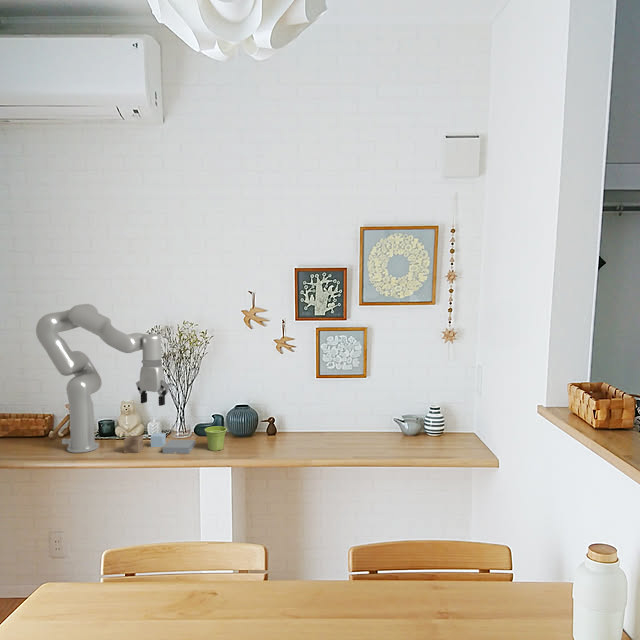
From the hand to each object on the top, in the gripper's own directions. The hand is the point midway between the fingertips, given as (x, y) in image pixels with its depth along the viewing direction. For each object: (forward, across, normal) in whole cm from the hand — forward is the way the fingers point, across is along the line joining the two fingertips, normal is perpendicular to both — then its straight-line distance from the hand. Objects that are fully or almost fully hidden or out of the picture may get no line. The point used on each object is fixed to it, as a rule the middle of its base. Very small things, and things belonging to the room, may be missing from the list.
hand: (152, 403), depth 251 cm
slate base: (+20, +9, +6) cm, 23 cm away
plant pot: (+20, +22, +14) cm, 33 cm away
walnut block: (+20, -7, -4) cm, 22 cm away
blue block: (+20, -3, +6) cm, 21 cm away
